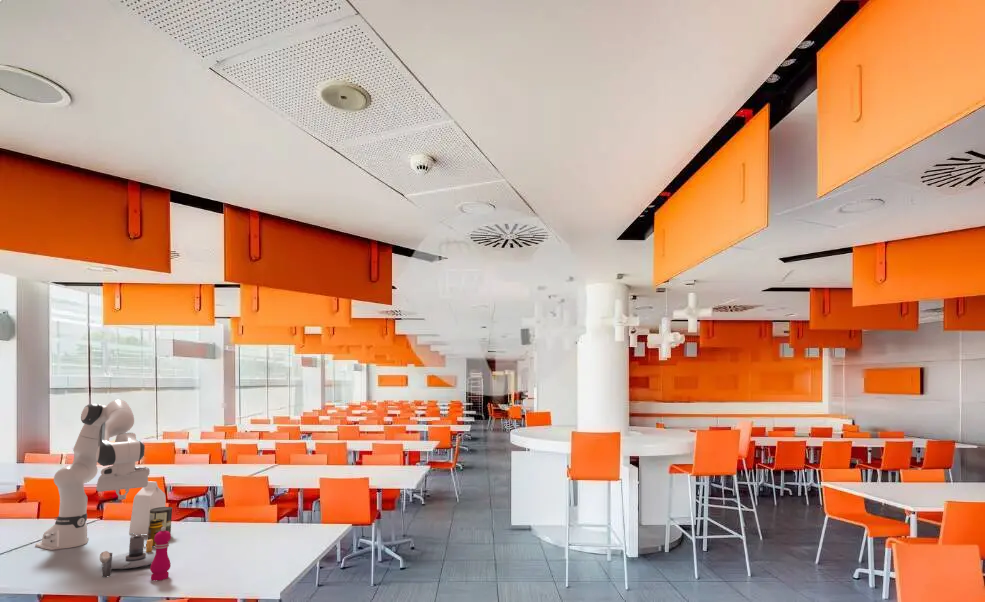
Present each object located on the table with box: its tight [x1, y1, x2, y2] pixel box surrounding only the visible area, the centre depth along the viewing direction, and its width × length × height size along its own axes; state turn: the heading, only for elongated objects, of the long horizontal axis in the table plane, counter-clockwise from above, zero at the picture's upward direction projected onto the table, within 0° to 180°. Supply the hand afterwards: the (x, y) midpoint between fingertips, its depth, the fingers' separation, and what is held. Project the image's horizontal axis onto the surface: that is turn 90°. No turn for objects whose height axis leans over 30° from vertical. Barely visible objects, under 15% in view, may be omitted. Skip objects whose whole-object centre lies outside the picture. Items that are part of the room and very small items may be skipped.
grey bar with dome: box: [99, 550, 113, 578], centre depth 237 cm, size 4×3×10 cm
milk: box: [128, 480, 167, 536], centre depth 309 cm, size 12×12×26 cm
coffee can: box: [149, 506, 173, 535], centre depth 297 cm, size 10×10×14 cm
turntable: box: [101, 539, 156, 570], centre depth 254 cm, size 24×24×6 cm
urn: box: [126, 534, 146, 561], centre depth 254 cm, size 8×8×10 cm
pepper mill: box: [149, 527, 172, 582], centre depth 235 cm, size 7×7×20 cm
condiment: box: [147, 519, 163, 546], centre depth 283 cm, size 7×8×12 cm
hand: (121, 499), depth 265 cm, fingers closed
